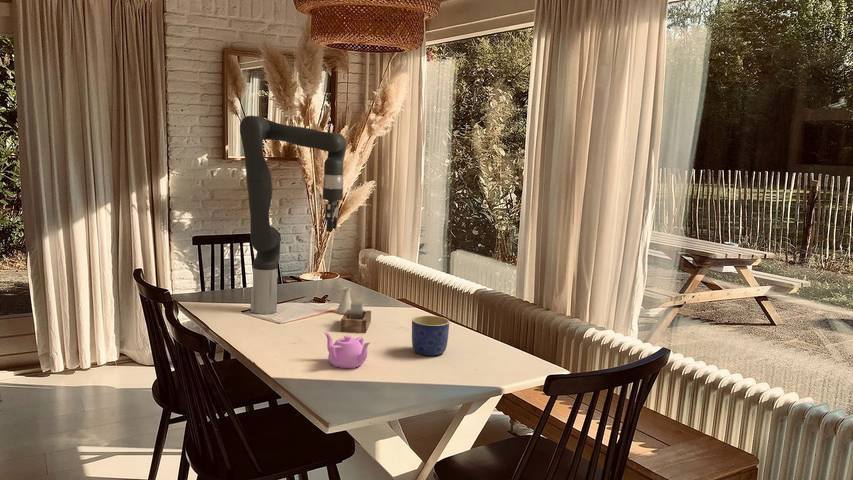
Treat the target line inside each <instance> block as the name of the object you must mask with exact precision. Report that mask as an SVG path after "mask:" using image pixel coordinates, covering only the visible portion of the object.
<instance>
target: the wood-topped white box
mask: <svg viewBox="0 0 853 480" xmlns="http://www.w3.org/2000/svg"><path fill="white" fill-rule="evenodd" d="M351 302H352V303H351V310H350V319H359V320H362V317H363V310H364V302H362V301H351Z"/></svg>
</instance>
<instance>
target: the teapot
mask: <svg viewBox="0 0 853 480" xmlns="http://www.w3.org/2000/svg"><path fill="white" fill-rule="evenodd" d="M323 334H324V335H325V336H326V340H327V344H326V345H327V346H326V347H327V351H328V358H327V360H328V362H329V363H330V364H331V365H332V366H333V367H334V366H336V367H335V368H337V367H340V368H339V369H344V368H351V369H355V368H354V367H357V368H359V367H358V366H360V367H361V366H362V365H363V364H365V362H366V360H367V358H368V346H369V345H370V344H371V342H365V343H364V340H365V339H364V336H358V337H356V338H354V337H352V335H343V337H340V338H338V339H337V340H335V342H334V343H333V338H332V336H331V334H330V333H329V332H326V331H324V332H323Z"/></svg>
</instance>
